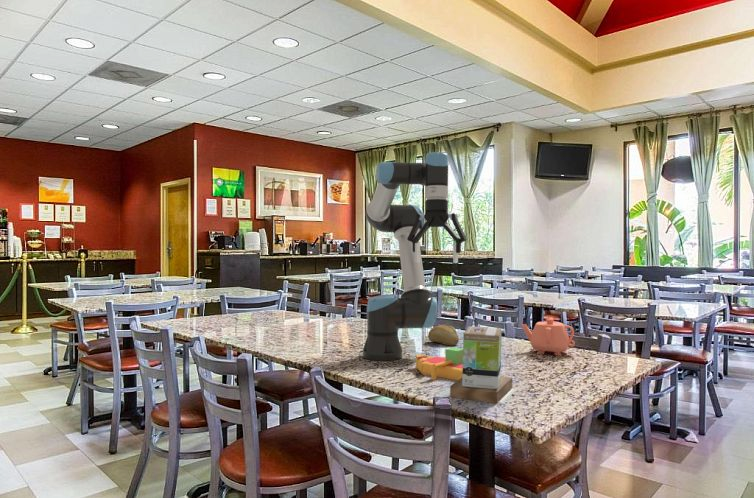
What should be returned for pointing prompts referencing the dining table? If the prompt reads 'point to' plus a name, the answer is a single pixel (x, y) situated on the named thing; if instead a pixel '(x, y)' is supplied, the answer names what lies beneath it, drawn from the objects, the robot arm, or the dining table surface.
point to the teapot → (549, 337)
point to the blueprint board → (502, 401)
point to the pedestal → (481, 391)
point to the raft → (442, 364)
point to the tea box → (481, 357)
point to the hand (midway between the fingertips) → (436, 262)
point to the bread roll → (444, 335)
